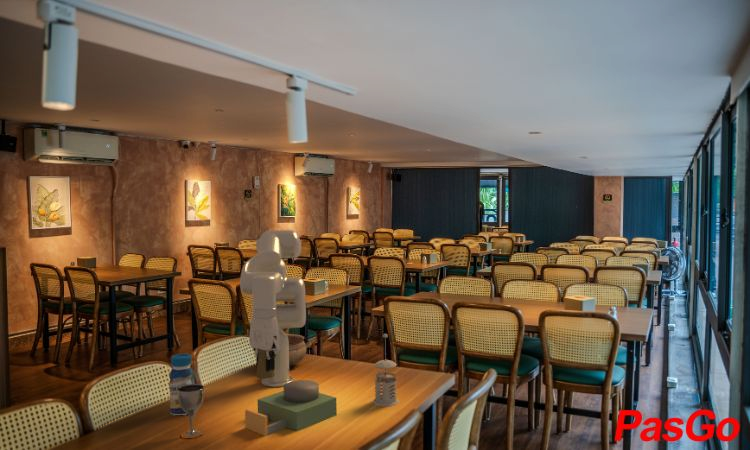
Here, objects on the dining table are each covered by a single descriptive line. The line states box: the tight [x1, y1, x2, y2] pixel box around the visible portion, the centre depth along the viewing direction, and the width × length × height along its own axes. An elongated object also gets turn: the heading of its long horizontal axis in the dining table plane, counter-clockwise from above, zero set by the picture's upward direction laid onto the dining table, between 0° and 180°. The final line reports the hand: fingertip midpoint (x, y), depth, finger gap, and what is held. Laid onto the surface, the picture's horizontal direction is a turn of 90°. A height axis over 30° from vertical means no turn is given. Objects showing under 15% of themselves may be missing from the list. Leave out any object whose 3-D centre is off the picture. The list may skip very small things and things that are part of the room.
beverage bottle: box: [168, 353, 195, 416], centre depth 208 cm, size 8×8×20 cm
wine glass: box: [178, 383, 205, 436], centre depth 188 cm, size 8×8×15 cm
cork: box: [255, 349, 275, 380], centre depth 193 cm, size 6×6×11 cm
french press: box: [372, 333, 400, 407], centre depth 216 cm, size 10×12×25 cm
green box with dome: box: [244, 379, 338, 437], centre depth 200 cm, size 20×27×10 cm
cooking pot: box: [286, 333, 312, 368], centre depth 265 cm, size 25×19×12 cm
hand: (265, 368), depth 193 cm, fingers closed on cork, 4 cm apart
